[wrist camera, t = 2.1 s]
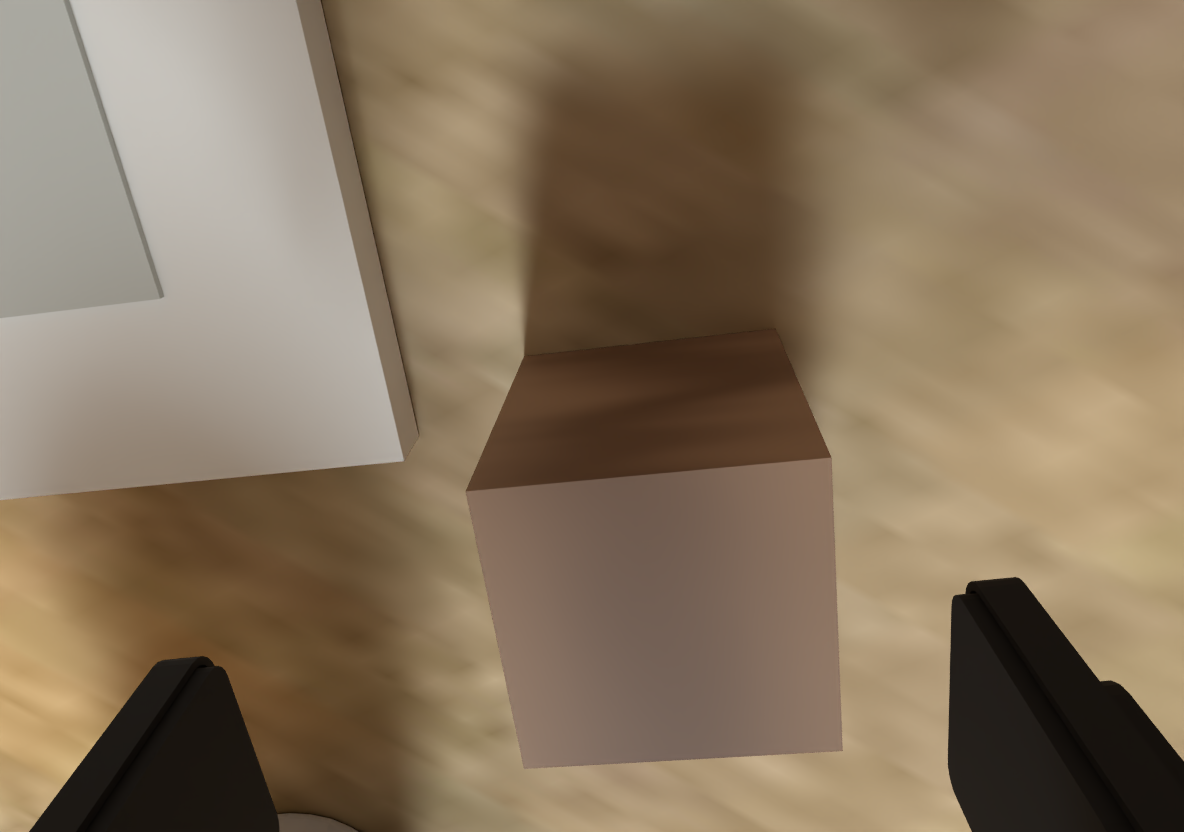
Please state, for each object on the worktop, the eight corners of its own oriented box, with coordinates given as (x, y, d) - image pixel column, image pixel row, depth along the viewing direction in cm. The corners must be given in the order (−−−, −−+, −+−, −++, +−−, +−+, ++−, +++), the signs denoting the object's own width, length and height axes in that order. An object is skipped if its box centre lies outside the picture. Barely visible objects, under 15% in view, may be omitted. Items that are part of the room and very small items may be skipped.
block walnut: (774, 328, 17) (831, 457, 12) (788, 549, 19) (842, 750, 14) (524, 355, 18) (465, 491, 12) (561, 567, 20) (523, 768, 14)
